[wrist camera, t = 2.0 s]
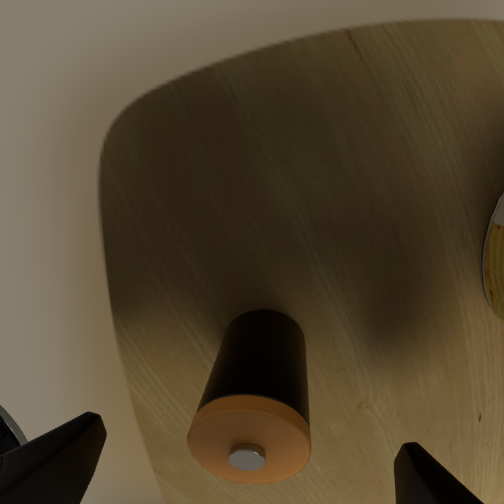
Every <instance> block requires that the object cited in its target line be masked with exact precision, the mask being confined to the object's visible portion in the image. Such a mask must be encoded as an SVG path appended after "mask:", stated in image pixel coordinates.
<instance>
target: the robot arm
mask: <svg viewBox="0 0 504 504" xmlns="http://www.w3.org/2000/svg"><path fill="white" fill-rule="evenodd" d="M106 436H107V433H106V429H105V427H104V424H103V421H102V419H101V416H100V415H99V414H96V413H93V412H86V413H84V414H82V415H80V416H78V417H76V418H74V419H73V420H71V421H69V422H67V423H65V424H63V425H61V426H59V427H57V428H55V429H53V430H51V431H49V432H47V433H45V434H43V435H41V436H40V437H37V438H35V439H34V440H31V441H29V442H27V443H25V444H23V445H21V446H18V444H17V443H16V441H15V439H14V437H13V436H12V434H11V432H10V430H9V429H8V427H7V425H6V423H5V421H4V419H3V418H2V417H1V416H0V504H80V502H81V500H82V498H83V496H84V494H85V492H86V490H87V488H88V485H89V483H90V481H91V479H92V477H93V475H94V472H95V469H96V466H97V463H98V460H99V457H100V454H101V451H102V448H103V446H104V443H105V440H106ZM394 477H395V494H396V504H484V503H483V502H481V501H480V500H479V499H478V498H477V497H476V496H475V495H474V494H473V493H472V492H470V491H469V490H468V489H467V488H466V487H465V486H464V485H463V484H462V483H461V482H459V481H458V480H457V479H456V478H455V477H454V476H453V475H452V474H451V473H450V472H449V471H447V470H446V469H445V468H444V467H443V466H442V465H441V464H440V463H439V462H438V461H437V460H436V459H434V458H433V457H432V456H431V455H430V454H429V453H428V452H427V451H426V450H425V449H424V448H423V447H422V446H421V445H419V444H418V443H417V442H409V443H404V444H403V445H402V446H401V448H400V450H399V452H398V454H397V456H396V458H395V461H394Z"/></svg>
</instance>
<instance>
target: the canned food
mask: <svg viewBox="0 0 504 504" xmlns="http://www.w3.org/2000/svg"><path fill="white" fill-rule="evenodd" d="M482 270H483V283H484V289H485V293H486V296H487V299H488V302H489V305H490V306H491V308H492V309H493V311H494V312H495V313H496V315H497V316H498V317H499V318H500V319H501V320H502V321H503V322H504V192H503V194H502V195H501V197H500V198H499V200H498V203H497V205H496V208H495V210H494V212H493V214H492V217H491V219H490V222H489V227H488V231H487V235H486V238H485V242H484V252H483V263H482Z"/></svg>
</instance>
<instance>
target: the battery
mask: <svg viewBox="0 0 504 504" xmlns="http://www.w3.org/2000/svg"><path fill="white" fill-rule="evenodd" d="M187 444H188V448H189V450H190V453H191V454H192V456H193V457H194V459H195V460H196V461H197V462H198V463H199V464H200V465H201V466H202V467H204V468H205V469H207V470H208V471H210V472H211V473H213V474H215V475H217V476H220V477H222V478H225V479H228V480H231V481H236V482H241V483H250V484H263V483H272V482H277V481H281V480H284V479H286V478H289V477H291V476H293V475H294V474H296V473H298V472H299V471H300V470H301V469H302V468H303V467H304V466H305V465H306V463H307V462H308V460H309V458H310V455H311V433H310V421H309V399H308V381H307V364H306V349H305V339H304V335H303V333H302V331H301V329H300V328H299V326H298V325H297V324H296V323H295V322H294V321H293V320H292V319H291V318H289V317H288V316H286V315H284V314H282V313H279V312H276V311H272V310H254V311H250V312H247V313H244V314H242V315H241V316H239V317H237V318H236V319H235V320H234V321H233V322H232V323H231V324H230V325H229V327H228V329H227V330H226V333H225V336H224V338H223V341H222V344H221V347H220V349H219V352H218V355H217V358H216V360H215V363H214V366H213V368H212V371H211V374H210V377H209V379H208V382H207V385H206V388H205V390H204V393H203V396H202V399H201V401H200V404H199V407H198V409H197V412H196V415H195V416H194V419H193V421H192V424H191V426H190V429H189V432H188V436H187Z"/></svg>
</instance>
